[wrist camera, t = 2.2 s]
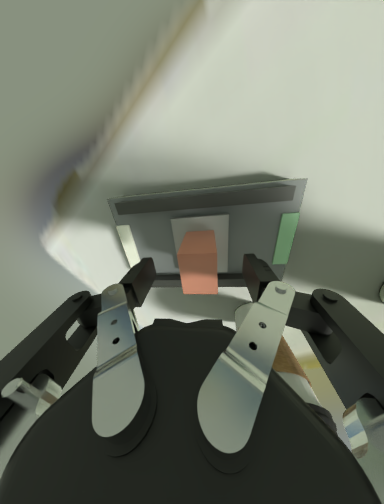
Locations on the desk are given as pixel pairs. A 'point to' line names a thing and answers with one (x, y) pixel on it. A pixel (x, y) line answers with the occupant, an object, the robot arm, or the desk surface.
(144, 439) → the robot arm
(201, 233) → the handle
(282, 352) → the coffee cup
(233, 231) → the switch box
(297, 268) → the desk surface
